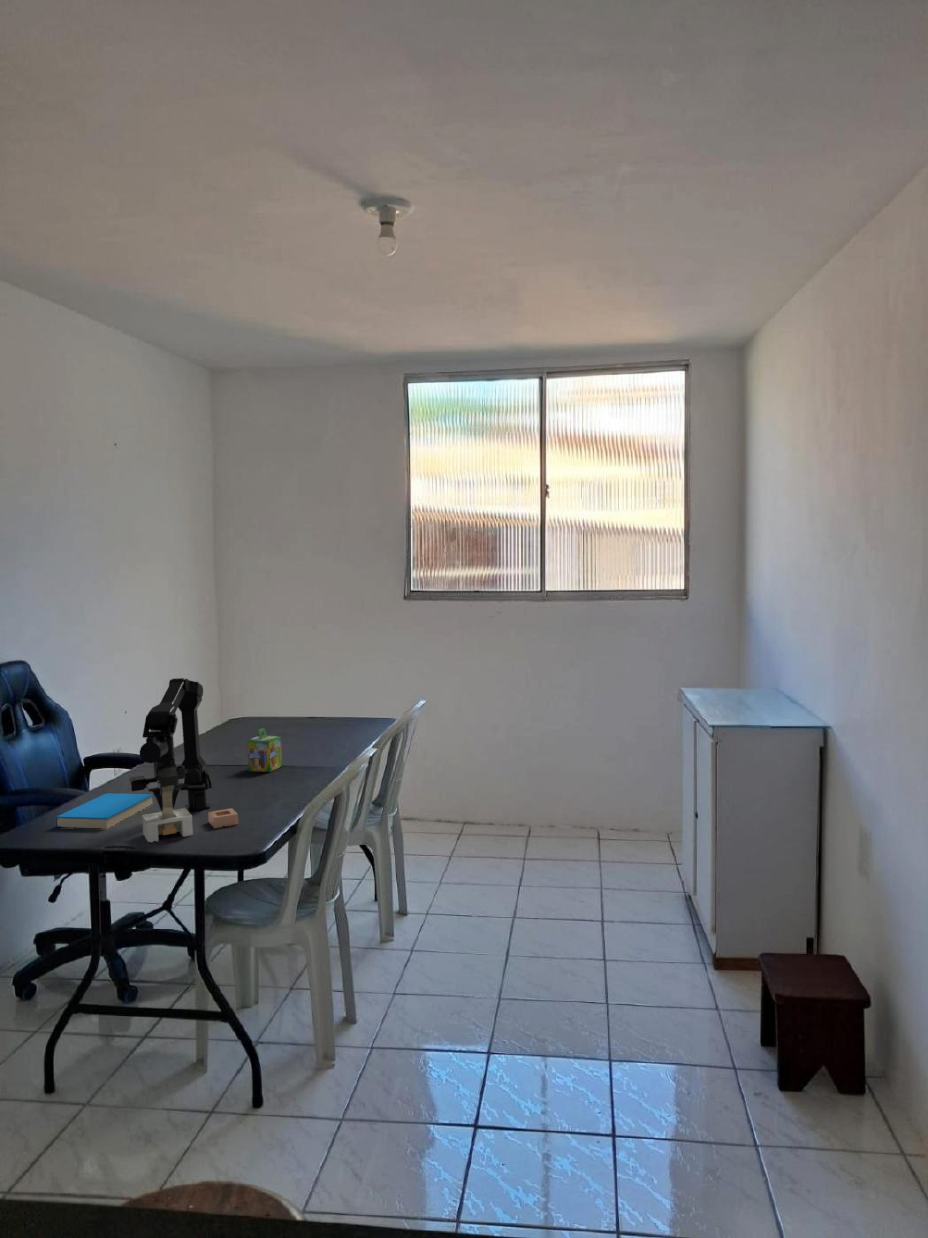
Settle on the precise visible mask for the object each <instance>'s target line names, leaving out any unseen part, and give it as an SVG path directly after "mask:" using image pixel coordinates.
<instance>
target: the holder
mask: <svg viewBox="0 0 928 1238" xmlns="http://www.w3.org/2000/svg"><path fill="white" fill-rule="evenodd" d="M207 814H208V815H207V816H208V818H207V819H208V823H209V825H211V827H212V826H213V827H212V828H213V829H218V828H224V827H223V826H225V827H231V826H235V825H236V826H237V825H239V814H238V812H236V810H235V809H233V808H232V807H231V808H226V809H220V810H214V811H208V812H207Z"/></svg>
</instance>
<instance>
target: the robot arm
mask: <svg viewBox="0 0 928 1238" xmlns="http://www.w3.org/2000/svg"><path fill="white" fill-rule="evenodd" d="M203 695H204V687H203V685H202V684H201V683H200V682H199V681H194V680H189V679H188V678H186V677H182V678H172V679H169V682H168V687H167V689H166V691H165V692H164V695H163V697H162V698H161V701H160V702H159V703H158V704H157V705H155V706H153V707H152V708H151V709H150V710H149V711H148V713H147V715H146V717H145V722H144V726H143V731H142V738H145V743H143V744H142V745H141V747H140V748H139V749H140V750H139V756H140V758H141V760H142V761H143V762H145V763H146V764H152V765H153V777H148V778H146V777H145V776H144V775H138V776H131V777H130V778H129V779H128V787H129V790H131V791H130V792H137V791H144V790H145V789H146V790H147V791H148V792H152V794H153V796H154V798H155V800H156V803H157V804H158V807H159V809H160V812H162V811H163V805H162V800H161V792H160V786H161V787H167V786H171V788H172V804H173V810H175V809H174V808H175V805H176V801H177V797H178V794H179V793H180V791H186V795H187V804H185V805H184V808H186V809H187V810H188V812H194V811H201V810H207V809H210V808H211V806H210V804H208V801H207V800H208V799H207V797H208V796H207V795H208V794H207V791H208V790H209V789H212V788H213V778H212V776H211V774H210V772H209V770H208V769H207V762H205V760H204V759H203V757H202V756H201V750H200V749H201V748H200V747H201V746H200V732H199V720H198V718H199V717H198V708H199V707H200V704H201V703H202V701H203ZM177 710H179V711H180V712H181V724H182V725H181V728H182V738H183V739H182V742H183V753H184V754H183V755H184V759H183V761H182V763H181V765H177V764H176V761H175V760H176V759H175V743H174V734H176V729H177V725H178V721H179V720H178V717H177V714H176V712H177Z"/></svg>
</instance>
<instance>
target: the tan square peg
mask: <svg viewBox="0 0 928 1238" xmlns="http://www.w3.org/2000/svg"><path fill="white" fill-rule="evenodd" d="M159 788H160V794H161V800H162V805H163V811H161V812H162V819H168V818H173V810H174V809H173V804H172V788H171V786H167V787H161V786H160V785H159ZM163 828H164V829H168V828H174V822H170V823H164V824H163Z"/></svg>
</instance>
